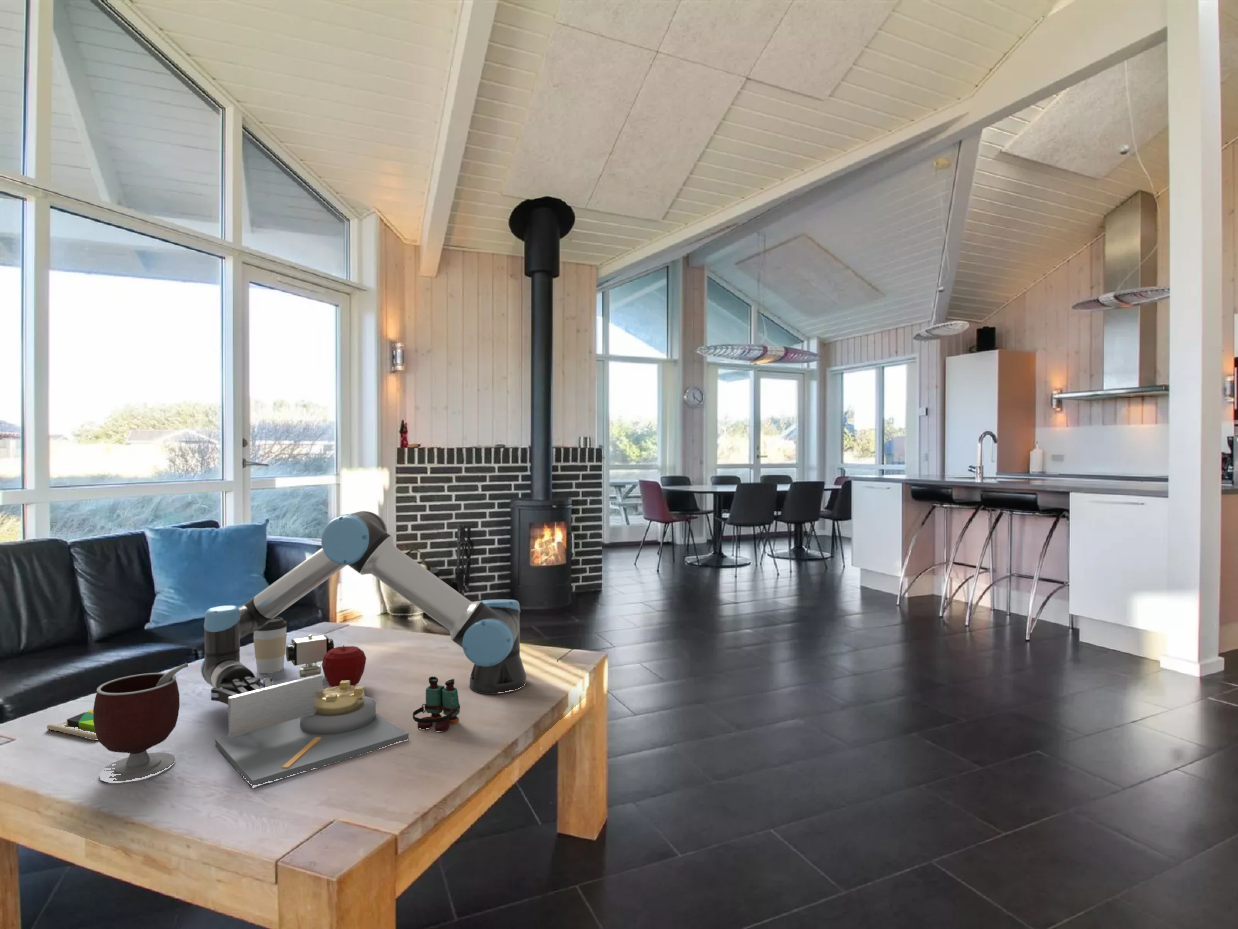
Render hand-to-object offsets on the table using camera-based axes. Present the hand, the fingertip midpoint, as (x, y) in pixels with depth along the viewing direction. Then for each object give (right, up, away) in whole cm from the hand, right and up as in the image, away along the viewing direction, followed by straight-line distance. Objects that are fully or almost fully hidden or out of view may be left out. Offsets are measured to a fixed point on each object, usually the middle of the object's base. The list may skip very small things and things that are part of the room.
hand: (264, 706), depth 143 cm
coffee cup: (-26, -9, +54) cm, 61 cm away
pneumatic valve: (-12, -9, +47) cm, 49 cm away
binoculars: (+33, -9, +11) cm, 36 cm away
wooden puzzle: (-43, -10, +15) cm, 47 cm away
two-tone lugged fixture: (+5, -4, +5) cm, 8 cm away
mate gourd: (-19, -9, -9) cm, 23 cm away
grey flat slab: (+9, -9, +3) cm, 13 cm away
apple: (+2, -9, +38) cm, 39 cm away
